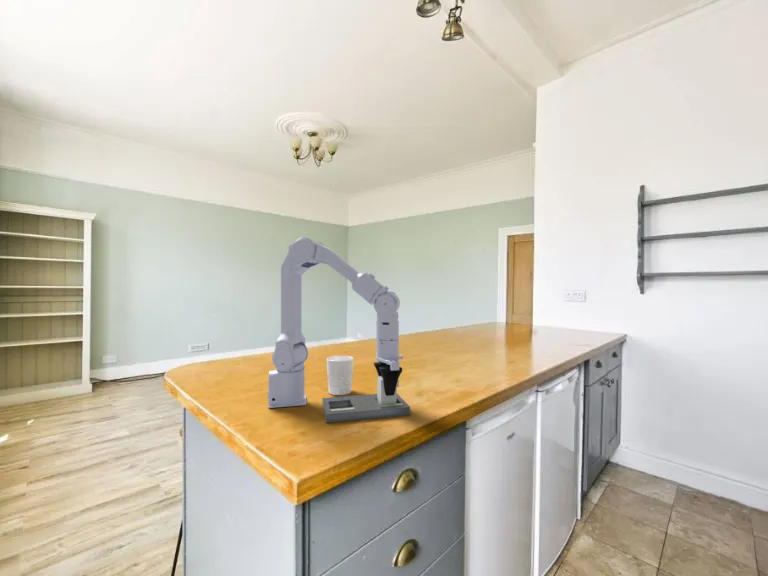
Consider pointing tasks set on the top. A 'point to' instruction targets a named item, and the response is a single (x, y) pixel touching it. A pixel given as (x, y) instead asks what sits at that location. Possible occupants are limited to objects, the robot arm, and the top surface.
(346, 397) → the grey socket base
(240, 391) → the top surface
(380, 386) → the plug
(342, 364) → the white cup
